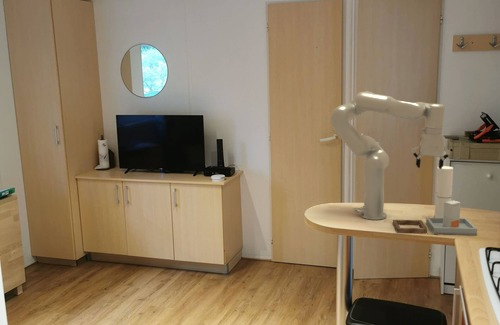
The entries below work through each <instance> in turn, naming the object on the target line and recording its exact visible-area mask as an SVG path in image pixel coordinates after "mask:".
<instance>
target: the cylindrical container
mask: <svg viewBox="0 0 500 325" xmlns="http://www.w3.org/2000/svg"><path fill="white" fill-rule="evenodd" d="M436 170H437V171H436V186H435V202H434V203H435V204H434V205H435V207H434V218H443V214H444V202H448V201H453V200H452V197H453V182H454V180H453V179H454V167H452V166H448V165H443V167H442V169H440V168H439V166H437V169H436Z"/></svg>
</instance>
